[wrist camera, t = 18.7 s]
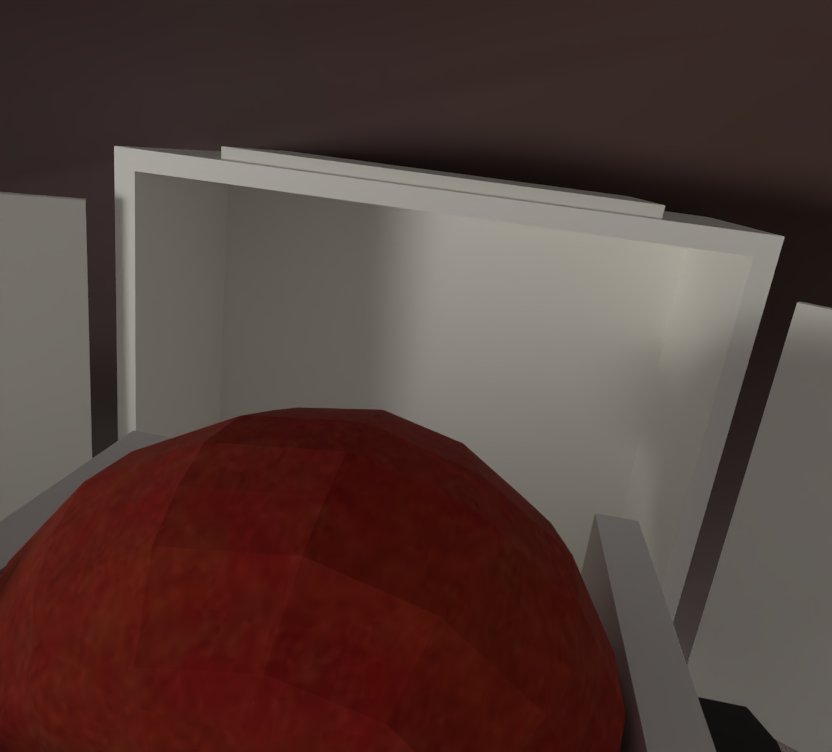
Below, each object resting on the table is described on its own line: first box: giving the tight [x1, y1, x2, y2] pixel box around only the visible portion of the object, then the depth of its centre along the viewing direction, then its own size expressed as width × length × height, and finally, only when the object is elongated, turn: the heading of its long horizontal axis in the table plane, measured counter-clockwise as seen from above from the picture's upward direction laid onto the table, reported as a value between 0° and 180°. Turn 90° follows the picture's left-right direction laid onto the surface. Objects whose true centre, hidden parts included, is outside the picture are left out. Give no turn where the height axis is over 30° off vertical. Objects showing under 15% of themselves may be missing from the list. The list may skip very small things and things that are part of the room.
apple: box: [0, 407, 626, 752], centre depth 9 cm, size 8×8×8 cm
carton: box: [114, 146, 785, 622], centre depth 20 cm, size 15×13×6 cm
